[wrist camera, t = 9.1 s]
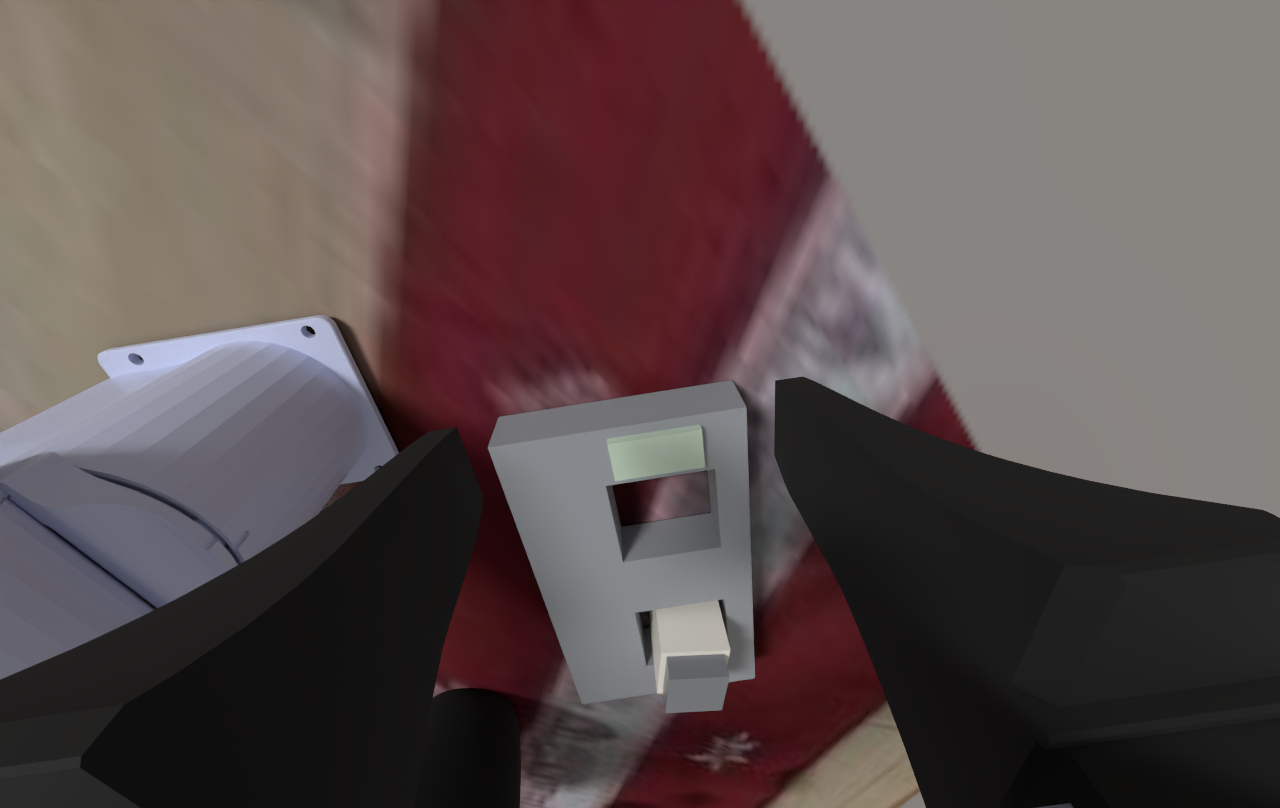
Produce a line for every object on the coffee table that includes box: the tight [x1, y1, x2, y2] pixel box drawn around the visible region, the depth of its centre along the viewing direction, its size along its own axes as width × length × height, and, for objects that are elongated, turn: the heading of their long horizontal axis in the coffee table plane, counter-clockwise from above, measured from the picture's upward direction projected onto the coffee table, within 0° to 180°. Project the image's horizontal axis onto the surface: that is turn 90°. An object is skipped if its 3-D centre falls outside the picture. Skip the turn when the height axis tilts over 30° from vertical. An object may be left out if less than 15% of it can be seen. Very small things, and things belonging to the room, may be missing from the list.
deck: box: [488, 380, 755, 705], centre depth 26 cm, size 11×20×3 cm, turn 8°
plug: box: [649, 600, 730, 713], centre depth 27 cm, size 4×4×6 cm
